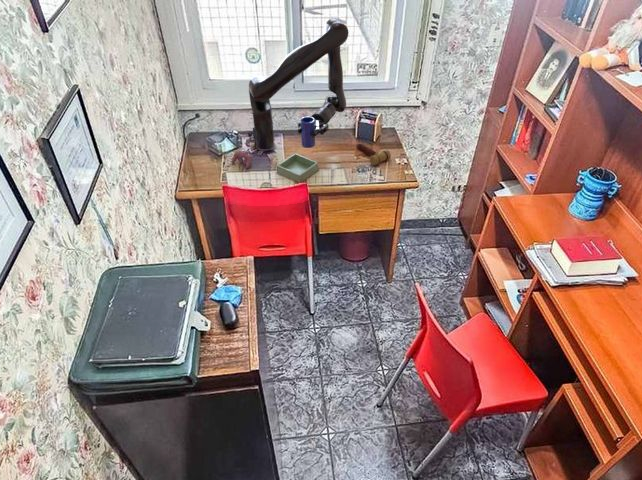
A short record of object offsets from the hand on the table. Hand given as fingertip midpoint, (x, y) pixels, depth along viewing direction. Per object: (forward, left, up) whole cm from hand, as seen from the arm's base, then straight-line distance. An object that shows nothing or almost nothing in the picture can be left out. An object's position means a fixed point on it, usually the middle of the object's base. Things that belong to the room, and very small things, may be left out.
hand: (305, 133), depth 210 cm
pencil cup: (0, +2, -7) cm, 7 cm away
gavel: (+17, +29, -18) cm, 39 cm away
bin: (-2, -5, -18) cm, 19 cm away
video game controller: (-27, -16, -18) cm, 36 cm away
